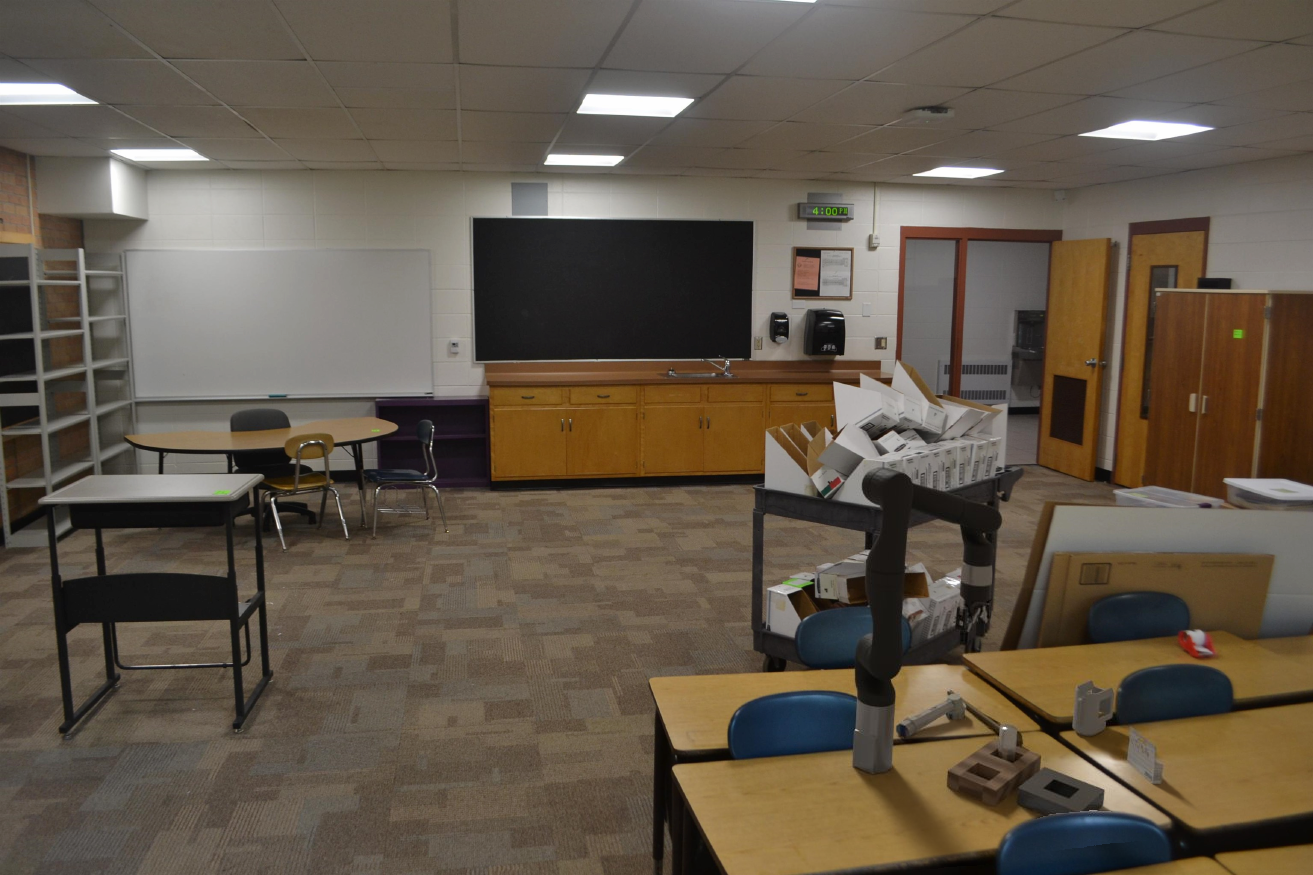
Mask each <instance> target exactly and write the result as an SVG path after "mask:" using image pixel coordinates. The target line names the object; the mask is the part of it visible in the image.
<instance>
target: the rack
mask: <svg viewBox="0 0 1313 875" xmlns="http://www.w3.org/2000/svg"><path fill="white" fill-rule="evenodd" d="M998 748H999V738H996V737H994V738H993V739H992V740H990V741H988V742H987V743H985V745H983V746H982V747H980V748H979V749H977V750H976V751H974V752H973V753H971V754H970V755H968V756H966V758H964V759H963V760H961V761H959V762H958V763H957V764H955V765H954V766H952V767H951V768H949V769H948V770H947V778H946V779H947V780H946V787H948V788H949V789H952V790H954V791H957V792H959V793H962V794H964V795H966V796H969V797H971V798H973V799H975V800H978V801H981V802H983V803H985V804H987V805H990V806H991V807H996V806H997V805H998V804H999V803H1001V802H1002V801H1003V800H1005V799H1006V798H1008V797H1009V796H1010V795H1011V794H1013V793H1014V792H1015V791H1016V790H1018V788H1019V787H1020V786H1021V785H1022V784H1024V783H1025V782H1026V781H1027V780H1029V779H1030V778H1031V777H1032V776H1034V775H1035V774H1036V773H1037V772H1039V771H1040V770H1041V762H1042V755H1041V754H1039V753H1036V752H1033V751H1031V750H1029V749H1028V750H1027V749H1025V748H1023V747H1017V746H1016V754H1015V762H1014V763H1011V762H1008V761H1006V760H1003V759H1000V758H998Z"/></svg>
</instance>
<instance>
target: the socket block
mask: <svg viewBox="0 0 1313 875" xmlns="http://www.w3.org/2000/svg"><path fill="white" fill-rule="evenodd" d="M1016 797H1017V799H1016V804H1017V805H1019V806H1021V807H1023V808H1026V809H1028V810H1031V811H1033V812H1036V813H1038V814H1041V815H1043V816H1045V815H1049V814H1056V813H1069V812H1080V811H1089V810H1098V811H1099V810H1100V809H1102V807H1104V803H1105V802H1104V801H1105V789H1104V788H1102V787H1098V786H1097V785H1094V784H1091V783H1088V782H1086V781H1083V780H1080V779H1077V778H1075V777H1073V776H1070V775H1067V774H1064V773H1062V772H1060V771H1057V770H1055V769H1051V768H1048V767H1046V766H1044V767H1042V768H1040V771H1039V772H1037V773H1036V774H1035V775H1034V776H1032V777H1031V778H1030V779H1029V780H1027V781H1026V782H1025V783H1024V784H1022V785H1021V786H1020V787H1018V788H1017V796H1016Z"/></svg>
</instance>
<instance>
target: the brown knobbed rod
mask: <svg viewBox="0 0 1313 875" xmlns="http://www.w3.org/2000/svg"><path fill="white" fill-rule="evenodd" d="M946 694H947V695H948V696H949V695H951V694H956V692H954V691H953V690H951V689H948V690H947V691H946ZM962 700H963V703H965V705H966V709H967V710H968V711H969V712H971V713H973V714H974V715H975V716H977V717H978V718H979V719H981V720H983V721H984V722H985V723H986V724H988V725H990V727H992V728H993V729H995V730H996V731H997V732H999V733H1000V725H1002V724H1001V723H1000V722H999V721H998V720H996V719H995V718H993V717H991V716H988V715H986V713H984V712H982V711H980V710H979V709H978V708H976V707H975V706H974V705H972V704H971V703H970V702H968V701H966V700H965V699H963V698H962ZM1016 746H1017V747H1020V748H1022V747H1023V746H1024V739H1023V735H1022V733H1021V732H1020V731H1019V730H1018V729H1017V740H1016Z"/></svg>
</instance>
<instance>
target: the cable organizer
mask: <svg viewBox="0 0 1313 875" xmlns="http://www.w3.org/2000/svg"><path fill="white" fill-rule="evenodd" d="M1114 700H1115V692H1114V688H1113V687H1112V686H1111V687H1108V688H1106V689H1104V688H1101V687H1098V686H1095V685H1094V682H1093V680H1092V679H1090V680H1087V681H1084V682H1083V683H1080V684H1078V685H1076V687H1075V692H1074V704H1073V714H1072V715H1073V716H1072V717H1073V718H1072V725H1071V726H1072V729H1073V730H1074V731H1075V732H1076V733H1077V734H1079V735H1081V736H1086V737H1091V736H1092V737H1093V736H1095V735H1097V734H1099V733H1101V732H1103V731H1104V730H1105V729H1106V726H1107V725H1106V724H1107V721H1108V720H1110V719H1112V718H1113V713H1114ZM1099 713H1101V714H1104V715H1102V716H1100V715H1099Z"/></svg>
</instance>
